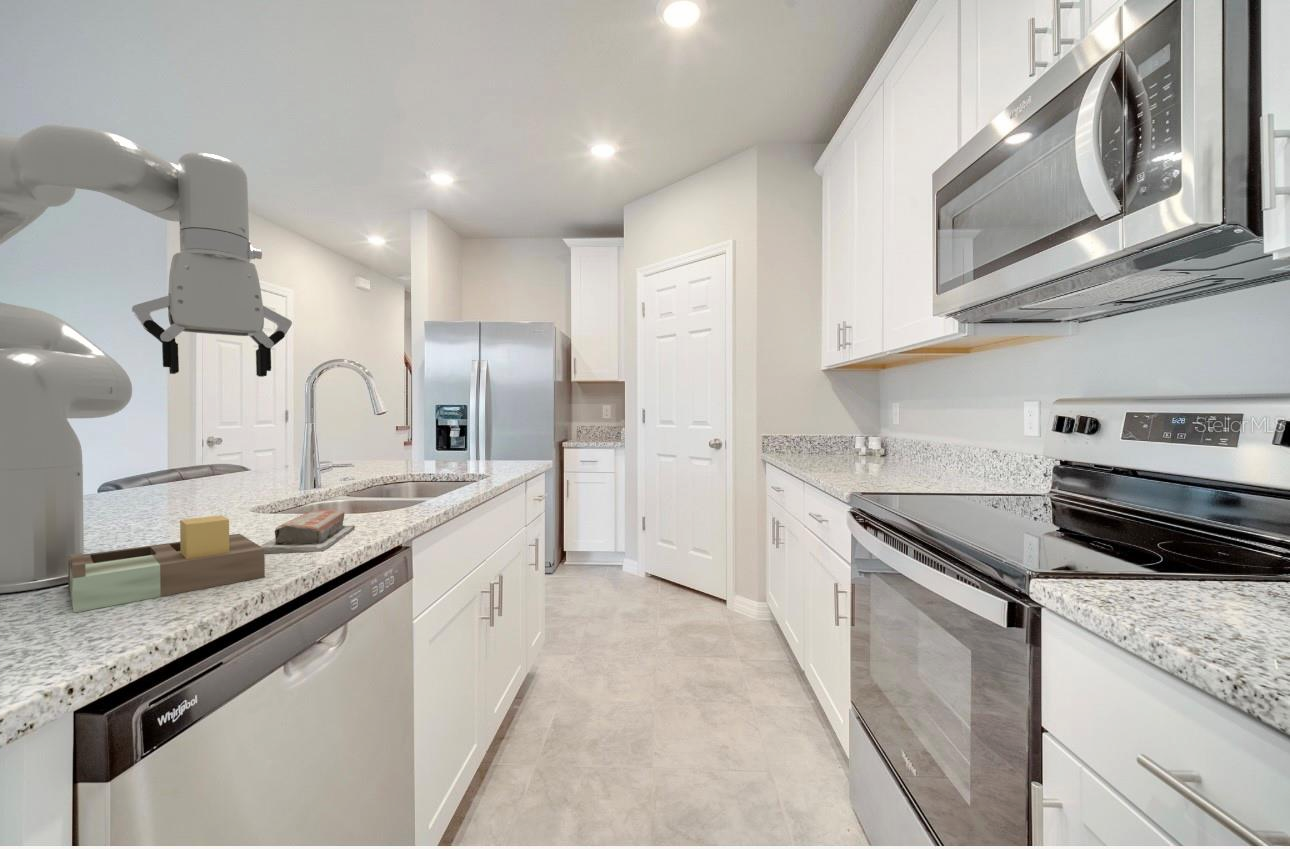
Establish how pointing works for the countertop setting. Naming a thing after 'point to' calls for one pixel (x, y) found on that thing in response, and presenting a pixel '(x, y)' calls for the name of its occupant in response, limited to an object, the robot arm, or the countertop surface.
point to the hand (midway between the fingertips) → (219, 374)
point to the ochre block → (204, 536)
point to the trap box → (157, 572)
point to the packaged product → (308, 533)
